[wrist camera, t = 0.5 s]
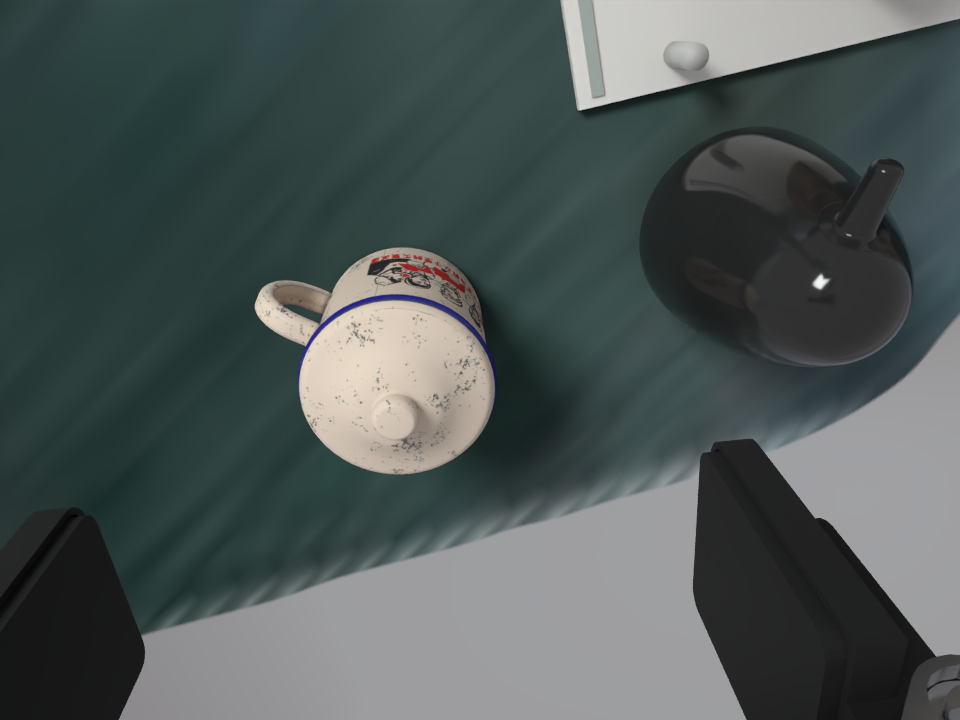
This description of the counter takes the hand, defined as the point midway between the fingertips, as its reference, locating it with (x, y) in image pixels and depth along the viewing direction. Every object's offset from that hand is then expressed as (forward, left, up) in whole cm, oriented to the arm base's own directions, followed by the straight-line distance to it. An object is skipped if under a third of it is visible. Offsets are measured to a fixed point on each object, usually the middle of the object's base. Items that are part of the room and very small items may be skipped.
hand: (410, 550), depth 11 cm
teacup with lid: (+6, -4, -29) cm, 30 cm away
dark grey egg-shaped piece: (+5, +15, -29) cm, 33 cm away
